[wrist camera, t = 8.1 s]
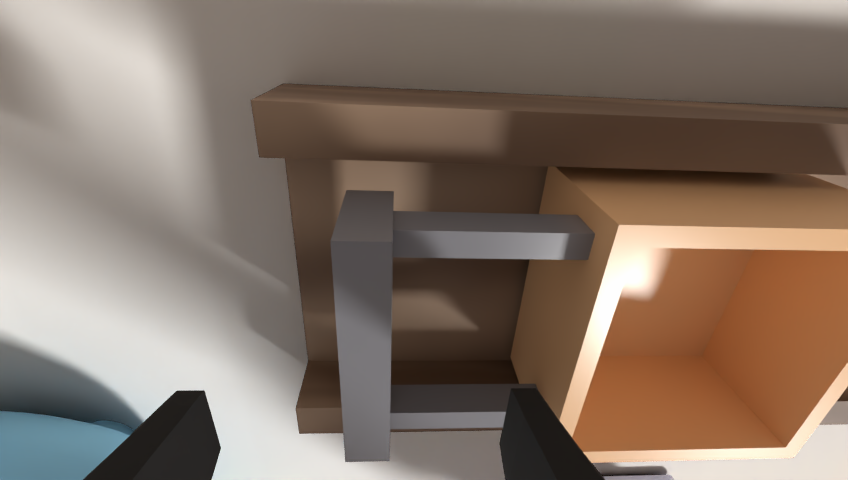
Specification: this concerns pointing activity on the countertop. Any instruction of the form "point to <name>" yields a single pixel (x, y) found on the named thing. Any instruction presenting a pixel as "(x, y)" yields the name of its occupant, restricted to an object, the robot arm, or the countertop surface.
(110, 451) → the decorative pot
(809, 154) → the bay
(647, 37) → the countertop surface
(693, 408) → the drawer
